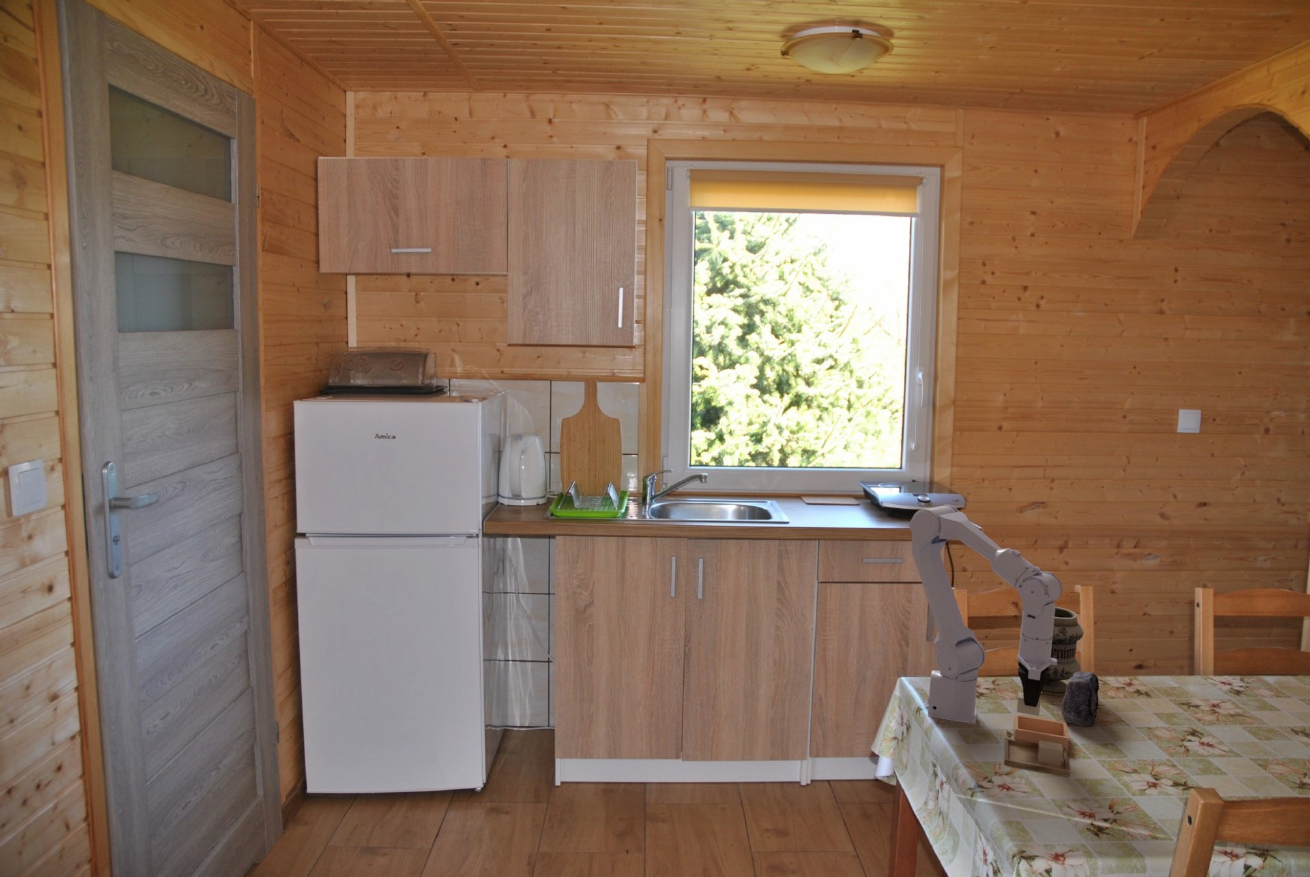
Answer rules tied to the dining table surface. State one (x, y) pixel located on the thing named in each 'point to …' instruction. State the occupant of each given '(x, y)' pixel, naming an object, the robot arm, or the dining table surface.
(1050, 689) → the apothecary jar
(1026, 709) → the stone grey
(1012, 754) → the tray
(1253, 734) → the dining table surface
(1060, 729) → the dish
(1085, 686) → the rock
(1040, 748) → the stone beige
